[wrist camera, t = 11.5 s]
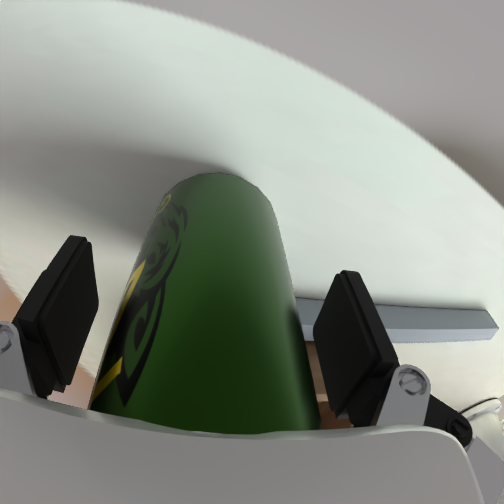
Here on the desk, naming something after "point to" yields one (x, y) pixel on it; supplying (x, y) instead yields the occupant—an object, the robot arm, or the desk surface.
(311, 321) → the bay
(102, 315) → the desk surface
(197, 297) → the green soda can
